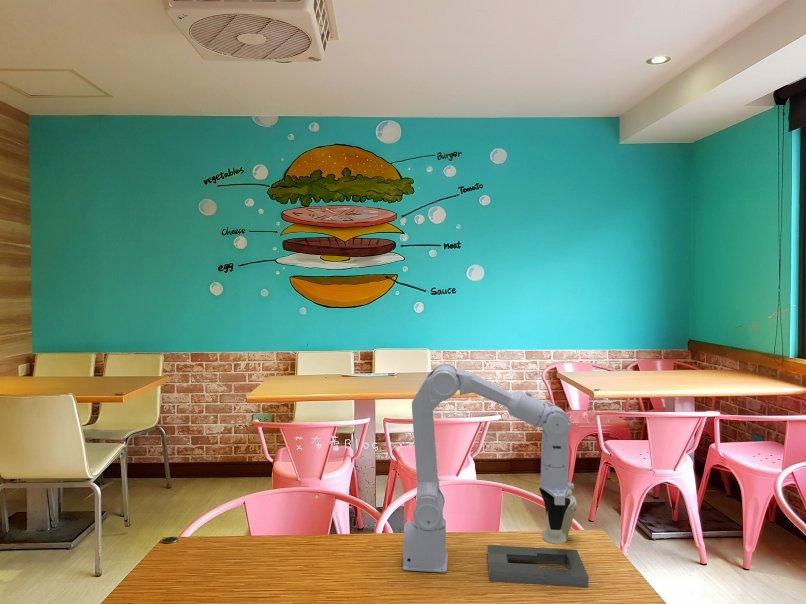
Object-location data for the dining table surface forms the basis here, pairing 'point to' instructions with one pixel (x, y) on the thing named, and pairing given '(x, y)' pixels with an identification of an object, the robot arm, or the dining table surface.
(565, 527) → the ice cream cone
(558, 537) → the peg
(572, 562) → the keyhole plate
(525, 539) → the dining table surface
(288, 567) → the dining table surface
